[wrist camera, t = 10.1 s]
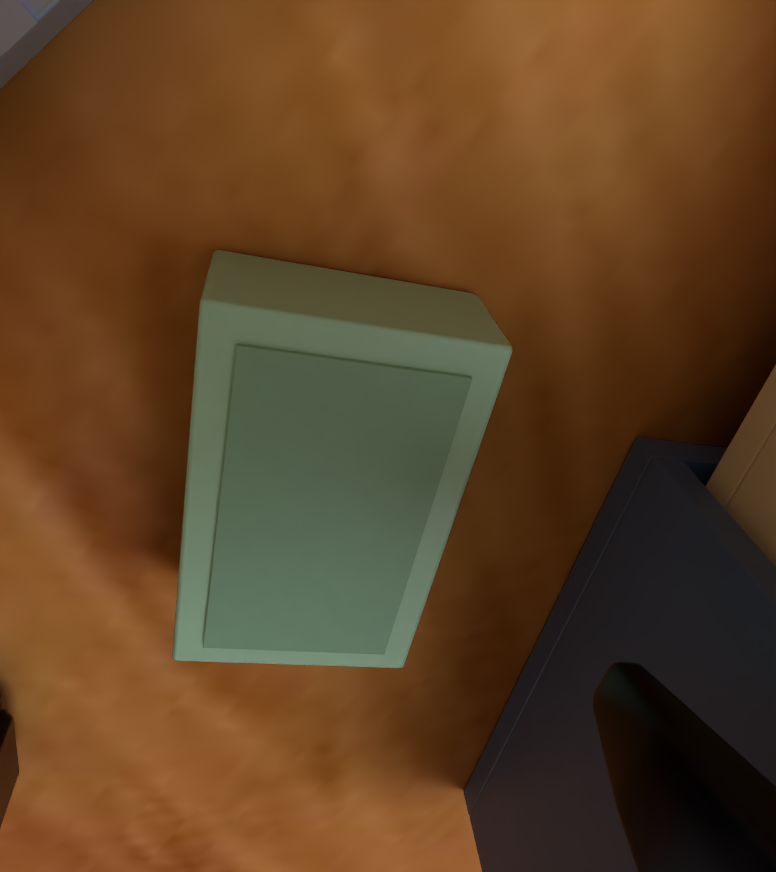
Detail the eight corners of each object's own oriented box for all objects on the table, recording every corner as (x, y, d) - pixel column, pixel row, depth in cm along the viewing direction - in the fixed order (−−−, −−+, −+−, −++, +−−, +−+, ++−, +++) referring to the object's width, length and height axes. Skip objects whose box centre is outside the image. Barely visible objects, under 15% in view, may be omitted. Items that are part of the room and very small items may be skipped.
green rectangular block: (185, 576, 16) (170, 666, 14) (213, 247, 12) (198, 302, 10) (388, 588, 17) (404, 673, 15) (478, 292, 13) (517, 351, 11)
